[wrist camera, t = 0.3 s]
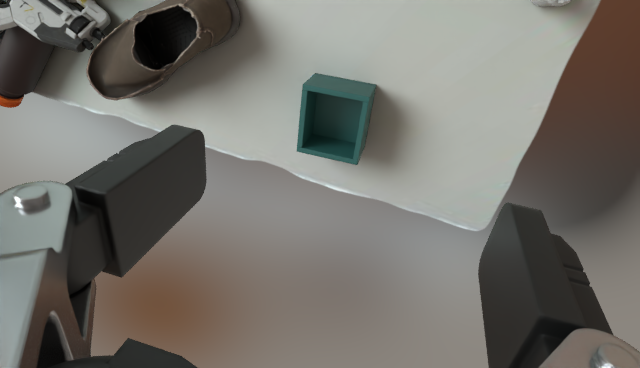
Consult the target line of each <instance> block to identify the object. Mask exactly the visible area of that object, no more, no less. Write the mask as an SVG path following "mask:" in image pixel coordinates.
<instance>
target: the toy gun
mask: <svg viewBox="0 0 640 368" xmlns="http://www.w3.org/2000/svg"><path fill="white" fill-rule="evenodd" d="M70 2H73V3H79V4H80V5H81V6H83V7H84V9H83V10H82V11H81V10H80V9H78V8H77V7H74V6H73V5H71V4H70ZM109 24H110V17H109V15H108V13H107V12H106V11H105V10H103V9H102V8H101V7H100V6H98V5H97V3H96V2H95V1H93V0H8V3H7V4H4V5H3V4H0V31H1V30H5V29H8V28H12V27H15V26H20V27H21V28H23V29H24V30H26V31H27V32H29V33H30V34H32V35H33V36H35V37H36V38H38V39H39V40H41V41H42V42H45V43H48V44H52V45H56V46H59V47H63V48H66V49H69V50H72V51H76V52H83V51H84V50H85V48H87V49H88V50H92V49H93V48H94V46H93V44H92V43H91V41H92V40H93V39H94V38H97V39H98V40H100V41H101V40H102V38H103V39H104V38H105V37H106V36H105V35H104V34H103V33H102V32H101V31H103V30H104V29H105V28H106V27H107V26H108V25H109Z"/></svg>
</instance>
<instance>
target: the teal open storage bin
mask: <svg viewBox="0 0 640 368" xmlns="http://www.w3.org/2000/svg"><path fill="white" fill-rule="evenodd" d="M375 89H376V85H375V84H370V83H365V82H359V81H354V80H349V79H343V78H338V77H333V76H327V75H322V74H317V73H315V74H314V75H313V76H312V77H311V78H310V79H308V80H307V81H306V82H305V83H304V84H303V90H302V99H301V110H300V121H299V132H298V143H297V152H302V153H306V154H311V155H315V156H319V157H324V158H328V159H333V160H337V161H342V162H346V163H351V164H355V165H357V164H358V162H359V159H360V157H361V155H362V152H363V150H364V147H365V142H366V137H367V131H368V126H369V121H370V116H371V110H372V105H373V100H374V94H375Z"/></svg>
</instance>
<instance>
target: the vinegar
mask: <svg viewBox="0 0 640 368" xmlns="http://www.w3.org/2000/svg"><path fill="white" fill-rule="evenodd" d="M54 46H55V45H52V44H48V43H45V42H42V41H41V40H39V39H38V38H36V37H35V36H33V35H32V34H30V33H29V32H27V31H26V30H24V29H23V28H21V27H20V26H15V27H12V28H8V29H6V31H5V34H4V36H3V39H2V42H1V44H0V105H1V106H4V107H10V108H11V107H16V106H18V105H19V104H20V103H21V101H22V99H23V97H24V94H28V93H30V92H32V91H33V90H34V88H35V86H36V84H37V82H38V80H39V78H40V76H41V73H42V71H43V69H44V67H45V65H46V63H47V61H48V59H49V57H50V55H51V52H52V50H53V48H54Z"/></svg>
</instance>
